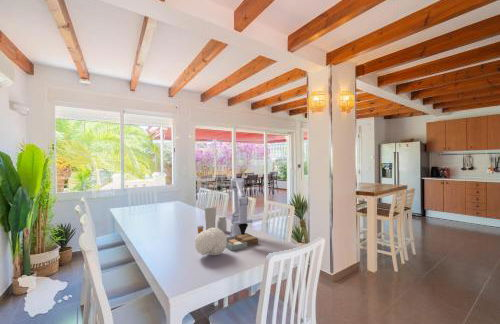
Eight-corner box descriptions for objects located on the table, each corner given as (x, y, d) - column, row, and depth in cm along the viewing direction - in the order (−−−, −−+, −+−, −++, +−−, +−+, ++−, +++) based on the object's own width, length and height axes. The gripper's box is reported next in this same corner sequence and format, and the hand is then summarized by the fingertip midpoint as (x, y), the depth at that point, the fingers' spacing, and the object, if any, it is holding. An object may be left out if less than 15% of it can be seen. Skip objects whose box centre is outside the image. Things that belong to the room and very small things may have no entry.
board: (234, 240, 170) (234, 235, 170) (246, 238, 176) (246, 233, 176) (246, 246, 158) (246, 240, 158) (257, 243, 164) (257, 238, 164)
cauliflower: (214, 248, 156) (214, 223, 156) (233, 255, 145) (233, 228, 145) (188, 257, 140) (189, 229, 140) (208, 266, 129) (208, 236, 129)
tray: (220, 244, 163) (220, 238, 163) (234, 240, 170) (234, 235, 170) (232, 251, 150) (232, 245, 150) (247, 247, 157) (247, 242, 157)
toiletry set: (223, 229, 197) (223, 205, 197) (228, 232, 191) (228, 206, 191) (195, 235, 182) (195, 208, 182) (199, 237, 176) (200, 210, 176)
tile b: (238, 241, 162) (238, 244, 162) (233, 242, 159) (233, 245, 159) (242, 243, 158) (242, 246, 158) (236, 244, 156) (236, 247, 156)
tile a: (234, 239, 166) (234, 241, 166) (228, 240, 164) (228, 243, 164) (237, 240, 163) (237, 243, 163) (232, 242, 160) (232, 245, 160)
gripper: (237, 217, 154) (237, 238, 154) (255, 214, 162) (254, 234, 162) (231, 215, 159) (231, 235, 159) (249, 212, 168) (248, 231, 168)
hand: (242, 234), depth 161 cm, fingers closed
